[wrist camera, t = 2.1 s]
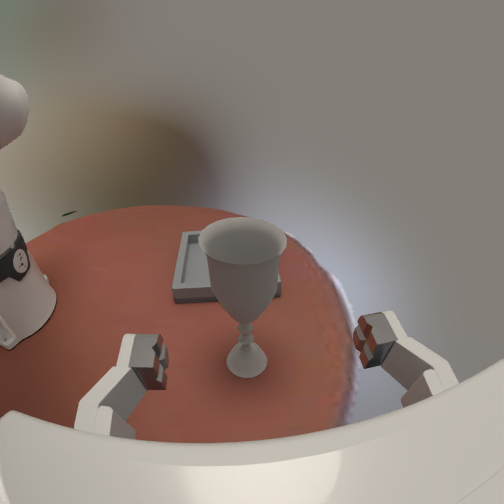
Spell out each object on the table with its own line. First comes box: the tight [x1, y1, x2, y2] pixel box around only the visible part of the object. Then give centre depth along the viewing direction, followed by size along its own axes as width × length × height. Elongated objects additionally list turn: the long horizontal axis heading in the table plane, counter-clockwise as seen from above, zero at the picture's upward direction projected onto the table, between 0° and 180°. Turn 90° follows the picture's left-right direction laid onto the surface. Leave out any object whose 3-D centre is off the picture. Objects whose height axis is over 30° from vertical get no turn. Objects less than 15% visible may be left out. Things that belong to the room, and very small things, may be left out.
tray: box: [172, 231, 281, 303], centre depth 47 cm, size 16×16×3 cm
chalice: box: [198, 217, 287, 378], centre depth 27 cm, size 7×7×18 cm
